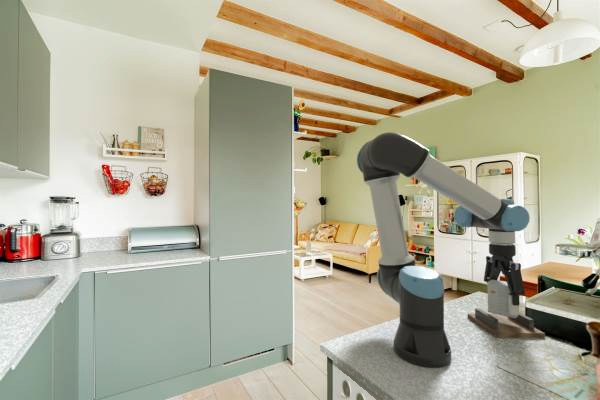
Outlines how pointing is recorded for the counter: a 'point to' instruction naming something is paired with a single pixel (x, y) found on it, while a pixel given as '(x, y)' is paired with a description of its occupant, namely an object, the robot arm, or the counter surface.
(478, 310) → the mounting plate
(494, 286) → the small box
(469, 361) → the counter surface
